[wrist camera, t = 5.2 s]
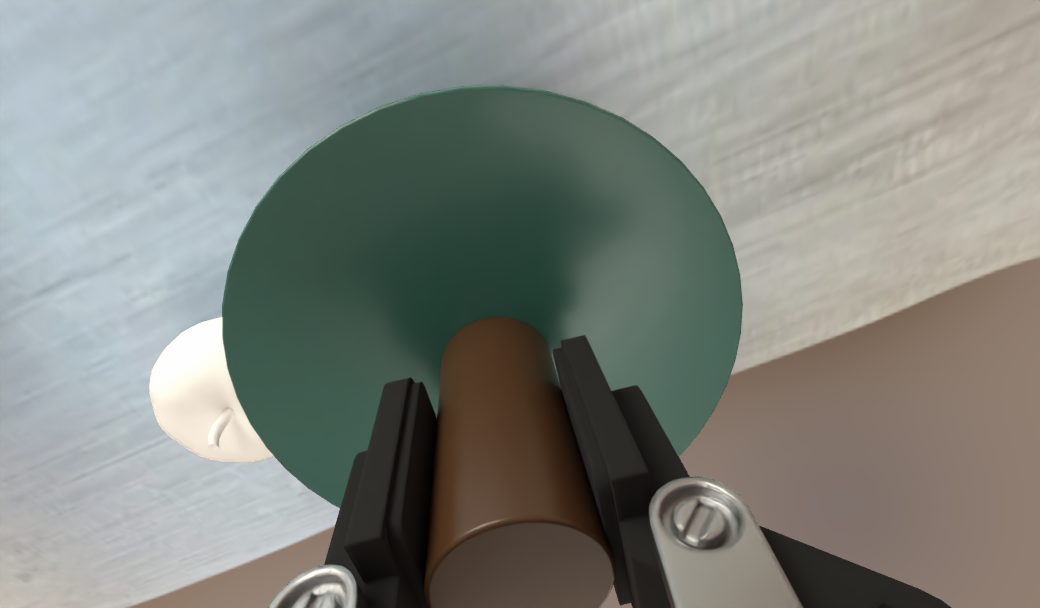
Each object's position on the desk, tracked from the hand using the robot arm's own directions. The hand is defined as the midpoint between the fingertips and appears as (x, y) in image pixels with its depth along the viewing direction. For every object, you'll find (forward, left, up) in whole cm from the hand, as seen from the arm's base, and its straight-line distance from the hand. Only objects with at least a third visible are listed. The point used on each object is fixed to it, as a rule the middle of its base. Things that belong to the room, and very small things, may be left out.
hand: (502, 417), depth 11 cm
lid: (0, 0, -3) cm, 3 cm away
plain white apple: (-13, -4, -15) cm, 20 cm away
